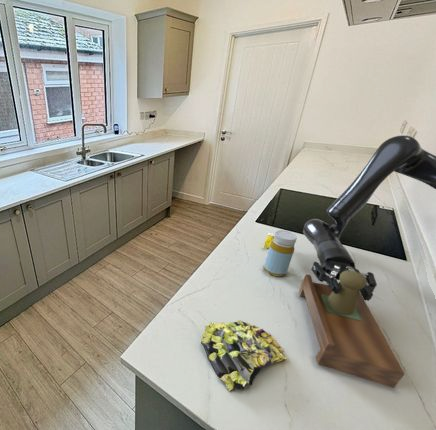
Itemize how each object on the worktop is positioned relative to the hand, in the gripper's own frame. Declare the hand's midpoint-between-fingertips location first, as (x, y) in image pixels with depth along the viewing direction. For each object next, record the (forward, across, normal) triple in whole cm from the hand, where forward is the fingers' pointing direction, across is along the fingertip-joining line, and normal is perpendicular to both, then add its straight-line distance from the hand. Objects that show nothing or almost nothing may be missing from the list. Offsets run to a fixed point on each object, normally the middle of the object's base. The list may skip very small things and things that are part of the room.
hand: (352, 294), depth 66 cm
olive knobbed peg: (-3, 0, +7) cm, 7 cm away
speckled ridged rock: (+19, -23, +12) cm, 32 cm away
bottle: (-20, -13, +12) cm, 27 cm away
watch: (-36, -14, +12) cm, 41 cm away
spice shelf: (+2, 0, +12) cm, 12 cm away
